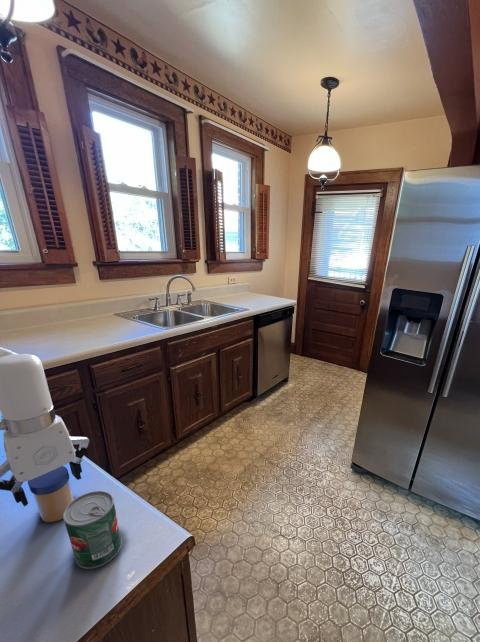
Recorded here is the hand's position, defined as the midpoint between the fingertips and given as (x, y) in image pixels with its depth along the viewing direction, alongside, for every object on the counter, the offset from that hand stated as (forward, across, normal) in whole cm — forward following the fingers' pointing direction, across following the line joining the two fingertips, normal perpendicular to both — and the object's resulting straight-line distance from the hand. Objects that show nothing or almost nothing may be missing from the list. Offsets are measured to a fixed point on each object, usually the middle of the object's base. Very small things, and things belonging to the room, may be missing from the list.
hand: (51, 488), depth 66 cm
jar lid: (-3, 0, 0) cm, 3 cm away
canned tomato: (+6, +1, -16) cm, 17 cm away
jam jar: (+6, 0, 0) cm, 6 cm away
